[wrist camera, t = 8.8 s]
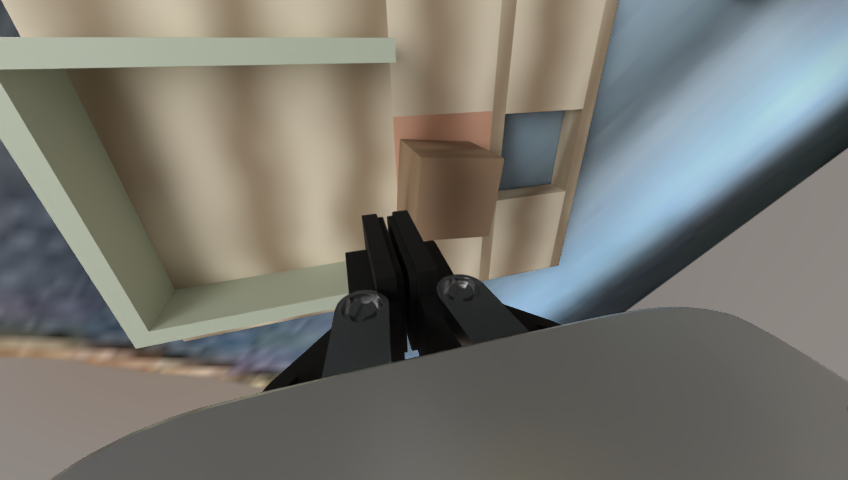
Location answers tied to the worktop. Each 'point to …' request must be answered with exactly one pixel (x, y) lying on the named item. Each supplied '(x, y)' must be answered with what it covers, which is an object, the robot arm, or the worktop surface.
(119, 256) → the low bay
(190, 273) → the board
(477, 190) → the walnut block
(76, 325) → the worktop surface
